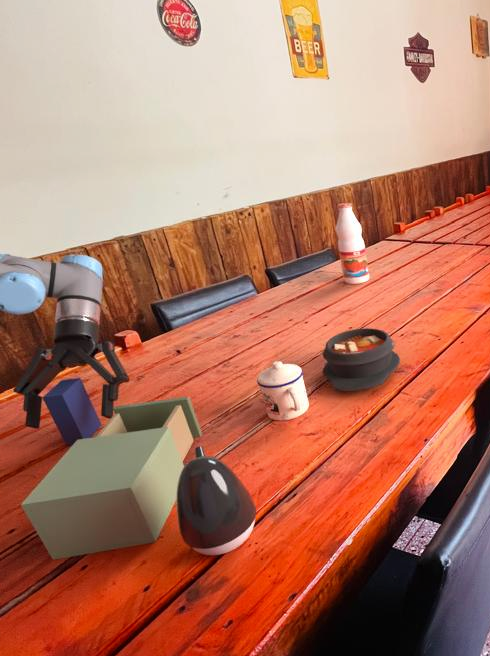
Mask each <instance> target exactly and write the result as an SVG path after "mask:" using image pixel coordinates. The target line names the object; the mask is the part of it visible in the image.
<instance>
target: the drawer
mask: <svg viewBox="0 0 490 656" xmlns="http://www.w3.org/2000/svg"><path fill="white" fill-rule="evenodd" d="M164 427H169V428H170V431H171V434H172V436H173V439H174V442H175V444H176V447H177V449H178V452H179V454H180V457H181V460H182V462H183V463H184V461H185V458H186V456H187V455H188V453H189V451H190V449H191V447H192V446H193V444H194V441H195V440H194V439H198V438H202V436H203V431H202V429H201V426H200V423H199V420H198V417H197V415H196V412H195V410H194V405H193V403H192V401H191V397H190V396H180V397H173V398H166V399H160V400H158V399H157V400H151V401H144V402H136V403H129V404H122V405H115V406H114V407H113V417H112V418H109V419H108V422H106V424H105V425H104V426H103V427H102V428H101V430H100V431H99V432H98V433H97V434H96V436H95V437H100V436H107V435H114V434H121V433H128V432H135V431H143V430H150V429H157V428H164Z"/></svg>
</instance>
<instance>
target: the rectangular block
mask: <svg viewBox="0 0 490 656" xmlns="http://www.w3.org/2000/svg"><path fill="white" fill-rule="evenodd" d="M41 397H42V401H43V402H44V404H45V406H46V408H47V410H48V412H49V414H50V416H51V418H52V420H53V422H54V424H55V426H56V428H57V430H58V433H59V434H60V436H61V438H62V440H63V442H64V444H65V446H66V447H72V445H73V444H74V443H75V442H76V441H77V440H79V439H86V438H92V436H93V435H94V434H95V433H96V432H97V431H98V430H99V428H101V426H102V422H101V420H100V418H99V416H98V413H97V411H96V410H95V409H96V408H95V407H94V405H93V403H92V400H91V398H90V396H89V394H88V392H87V390H86V387H85V385H84V382H83V381H82V379H81V377H78V378H77V377H76V378H69V379H62V380H60V381H59V382H58V383H57V384H56V385H55V386H53V388H51V389H50V390H49V391H48V392H47V393H45V394H44V395H43V396H41Z"/></svg>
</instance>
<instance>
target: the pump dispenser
mask: <svg viewBox="0 0 490 656" xmlns="http://www.w3.org/2000/svg"><path fill="white" fill-rule="evenodd" d="M194 457H195V458H192V459H191V460H189V461H188V462H186V464H185V465H184V468H183V469H182V471H181V474H180V477H179V480H178V485H177V500H176V516H177V523H178V528H179V532H180V536H181V539H182V541H183V542H184V544H185V545H187V546H189V547H190V548H191V549H193V550H194V551H196V552H197V553H198V554H202V555H204V556H205V555H206V556H220V555H224V554H227V553H230V552H232V551H233V550H235V549H237V548H239V547H240V546H241V545H243V544H244V543H245V542H246V541H247V539H248V538H249V537H250V535H251V533H252V532H253V529H254V527H255V522H256V517H257V507H256V505H255V501H254V498H253V497H252V496H251V494H250V492H249V490H248V489H247V488H246V485H245V484H244V483H243V481H242V480H241V479H240V478H239V476H238V475H237V474H236V473H235V472H234V471H233V469H232V468H231V467H229V466H228V465H227V464H226V463H224V462H223V461H222V460H220V459H218V458H217V457H214V456H210V455H206V454H205V451H204V447H203V446H200V445H198V446H196V447H195V448H194Z"/></svg>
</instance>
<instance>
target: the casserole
mask: <svg viewBox="0 0 490 656" xmlns="http://www.w3.org/2000/svg"><path fill="white" fill-rule="evenodd" d="M395 346H396V345H395V341H394V340H393V339H392V338H391V337H390V335H389V334H388V333H387V331H384V330H381V329H379V328H370V327H369V328H365V327H364V328H356V329H355V328H354V329H350V330H346V331H343V332H340V333H337V334H336V335H334V336H332V337H330V338H329V339H328V340H327V341H326V343H325V347H324V349H323V351H322V357H323V359H324V360H325V361H326V363H325V364H324V365H323V367H322V374H323V377H325V378H326V379H327V380H328V381H329V382H330V384H331V386H332V388H333V389H335V390H338V391H349V392H350V391H352V392H353V391H362V390H367V389H371V388H375V387H377V386H380V385H382V384H384V383H385V382H386V380H387V379H388V378H389V377H390V375H391V374H392V373H393V372H394V371H395V370H396V369H397V368H398V367H399V365H400V364H401V358H400V355H398V353H396V352H395V351H393V350H394V349H395Z"/></svg>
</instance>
